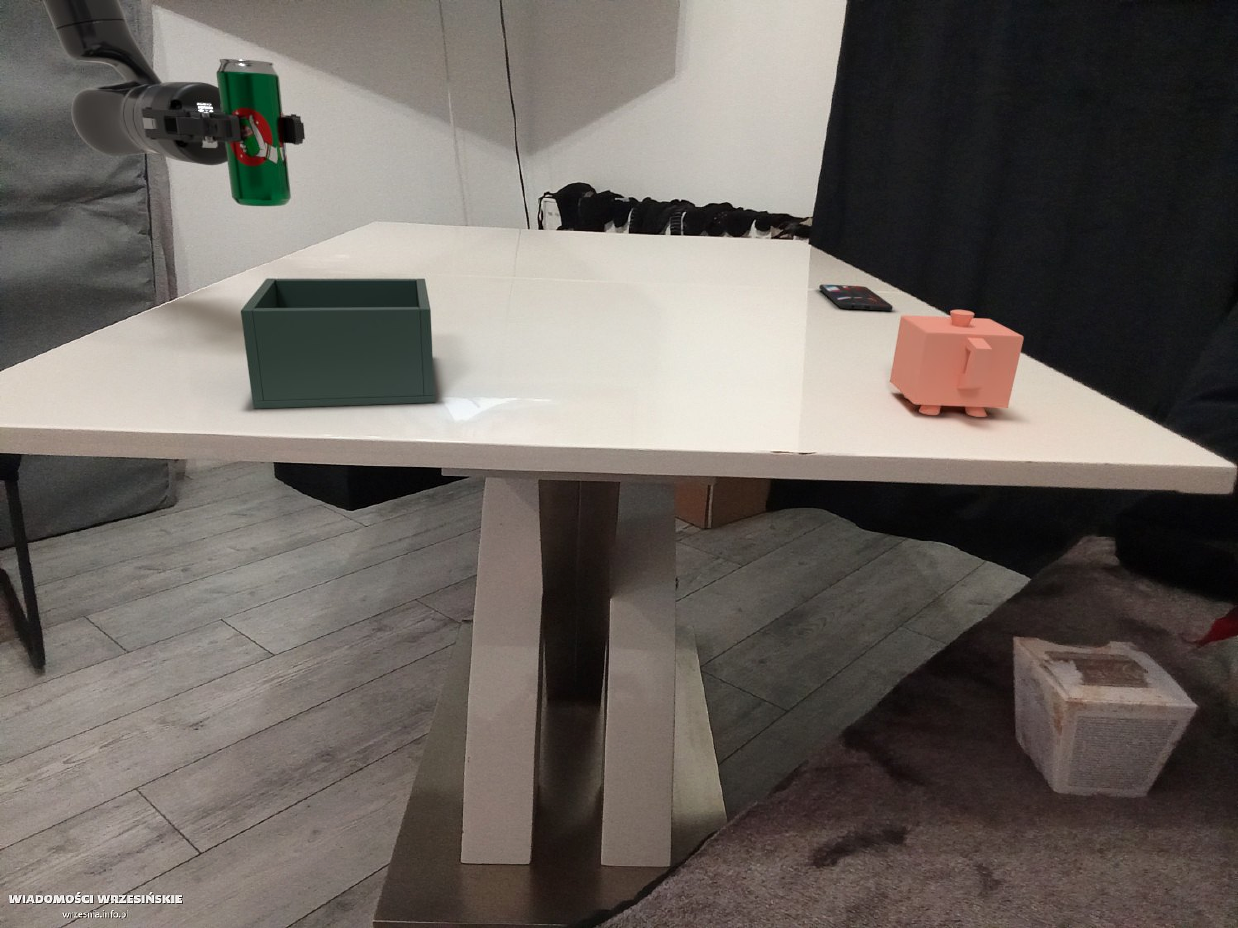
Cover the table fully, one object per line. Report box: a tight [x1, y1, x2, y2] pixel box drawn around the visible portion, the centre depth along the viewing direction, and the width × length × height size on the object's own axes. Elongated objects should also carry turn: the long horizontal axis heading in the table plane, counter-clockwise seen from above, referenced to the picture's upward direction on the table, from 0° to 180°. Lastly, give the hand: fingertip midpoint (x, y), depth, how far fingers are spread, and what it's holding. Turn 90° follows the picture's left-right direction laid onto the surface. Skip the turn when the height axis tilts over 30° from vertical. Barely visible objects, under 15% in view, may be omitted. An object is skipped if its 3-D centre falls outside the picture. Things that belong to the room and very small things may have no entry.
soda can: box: [215, 58, 292, 207], centre depth 75 cm, size 5×5×12 cm
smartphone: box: [818, 283, 894, 311], centre depth 117 cm, size 7×1×15 cm
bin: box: [240, 277, 436, 410], centre depth 70 cm, size 14×14×8 cm
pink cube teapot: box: [889, 309, 1025, 418], centre depth 71 cm, size 8×12×8 cm, turn 0°
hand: (268, 130), depth 73 cm, fingers closed on soda can, 5 cm apart
